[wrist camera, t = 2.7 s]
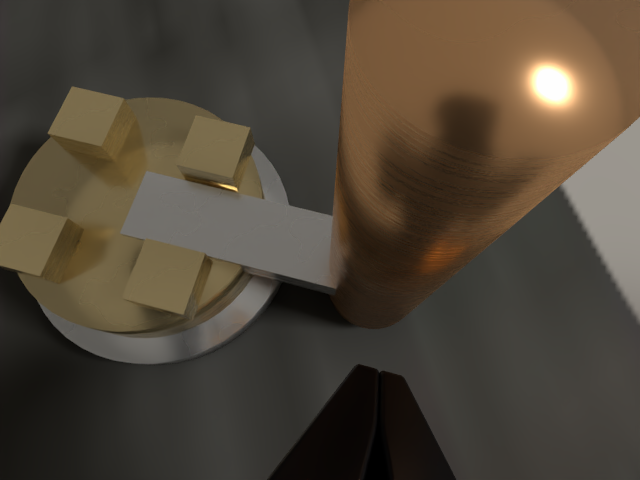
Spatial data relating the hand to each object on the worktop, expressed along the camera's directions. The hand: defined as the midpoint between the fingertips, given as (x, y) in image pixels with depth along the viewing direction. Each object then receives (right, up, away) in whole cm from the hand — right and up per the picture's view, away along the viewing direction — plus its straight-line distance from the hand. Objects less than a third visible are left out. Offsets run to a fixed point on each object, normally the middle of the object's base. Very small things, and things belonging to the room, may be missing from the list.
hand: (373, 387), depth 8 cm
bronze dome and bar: (-4, +2, +9) cm, 10 cm away
